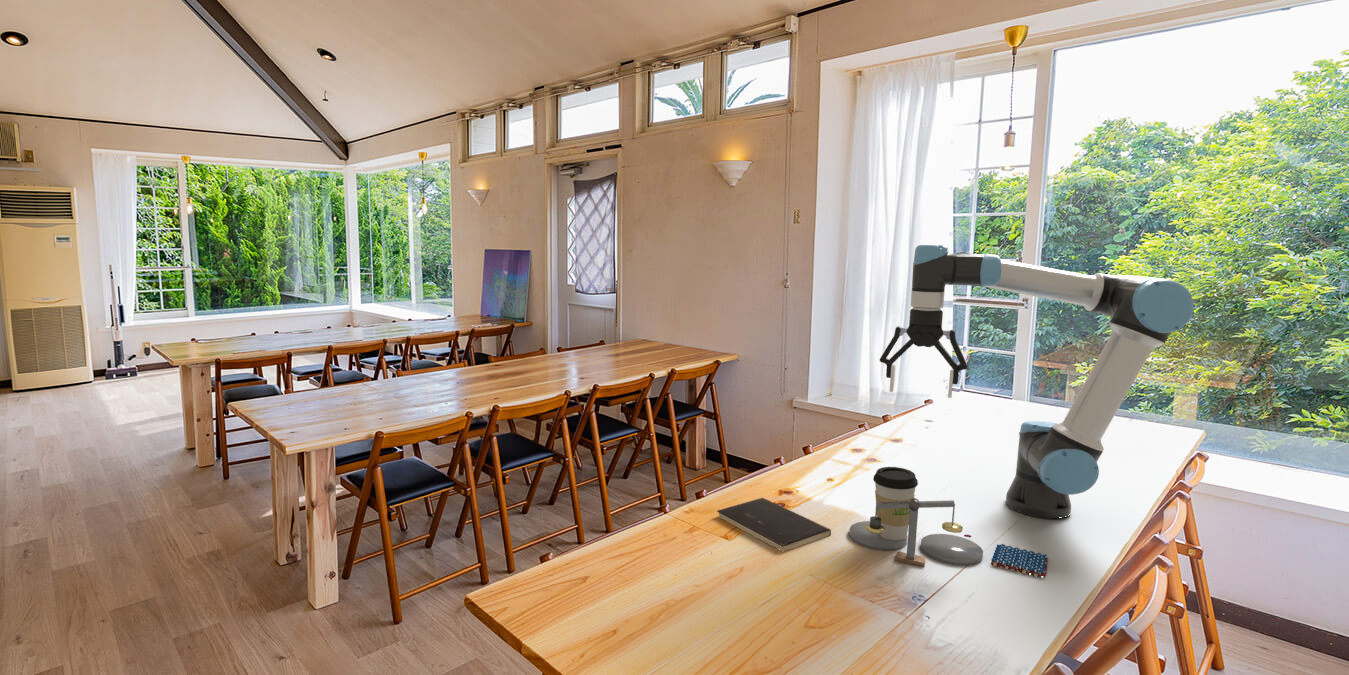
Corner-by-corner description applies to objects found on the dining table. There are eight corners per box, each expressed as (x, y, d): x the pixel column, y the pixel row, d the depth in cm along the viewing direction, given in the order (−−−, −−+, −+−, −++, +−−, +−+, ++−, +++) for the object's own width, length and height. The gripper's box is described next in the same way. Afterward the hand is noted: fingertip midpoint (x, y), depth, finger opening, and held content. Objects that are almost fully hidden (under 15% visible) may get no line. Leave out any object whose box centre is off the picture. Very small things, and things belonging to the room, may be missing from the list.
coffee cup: (918, 545, 151) (921, 482, 149) (872, 542, 153) (875, 479, 151) (911, 527, 161) (914, 467, 158) (869, 523, 163) (871, 464, 160)
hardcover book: (782, 555, 150) (782, 545, 149) (717, 519, 168) (717, 510, 168) (830, 537, 159) (831, 528, 159) (763, 505, 177) (764, 497, 177)
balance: (959, 566, 145) (964, 499, 142) (958, 575, 141) (964, 506, 139) (865, 548, 152) (869, 484, 150) (862, 555, 149) (867, 490, 147)
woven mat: (1045, 582, 140) (1046, 573, 139) (989, 568, 145) (990, 559, 145) (1049, 562, 148) (1050, 553, 148) (996, 549, 154) (997, 541, 154)
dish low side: (909, 532, 161) (909, 527, 161) (904, 554, 150) (904, 549, 149) (854, 521, 167) (854, 517, 166) (845, 543, 155) (845, 538, 155)
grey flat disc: (982, 545, 155) (982, 540, 155) (982, 570, 143) (983, 565, 143) (922, 534, 160) (923, 529, 160) (918, 557, 148) (918, 552, 148)
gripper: (982, 310, 162) (975, 396, 165) (875, 304, 172) (870, 385, 175) (982, 313, 155) (975, 402, 158) (871, 307, 165) (866, 391, 168)
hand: (920, 393), depth 167 cm, fingers open, 13 cm apart
